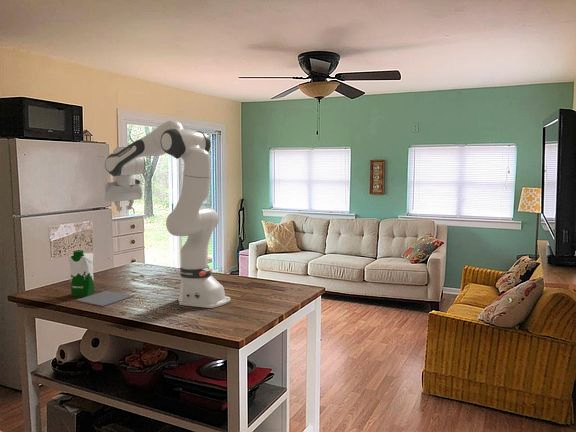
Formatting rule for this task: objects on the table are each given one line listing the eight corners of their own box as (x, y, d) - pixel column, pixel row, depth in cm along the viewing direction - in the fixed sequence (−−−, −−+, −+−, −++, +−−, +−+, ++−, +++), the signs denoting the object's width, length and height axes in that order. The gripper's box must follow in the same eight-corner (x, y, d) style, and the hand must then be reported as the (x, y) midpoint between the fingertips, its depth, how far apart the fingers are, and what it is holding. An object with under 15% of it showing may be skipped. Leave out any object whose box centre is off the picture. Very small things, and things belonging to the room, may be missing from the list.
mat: (133, 296, 207) (133, 295, 207) (102, 306, 194) (102, 305, 194) (106, 291, 216) (106, 290, 216) (75, 300, 202) (75, 299, 202)
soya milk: (68, 297, 208) (65, 251, 205) (79, 291, 217) (76, 248, 214) (87, 297, 207) (85, 252, 204) (97, 291, 216) (95, 248, 213)
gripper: (109, 182, 218) (111, 212, 220) (143, 180, 236) (144, 208, 237) (100, 182, 221) (102, 211, 223) (134, 180, 239) (135, 207, 241)
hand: (124, 210), depth 230 cm, fingers open, 5 cm apart
